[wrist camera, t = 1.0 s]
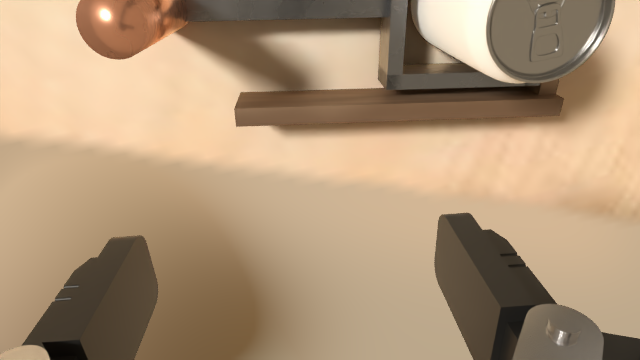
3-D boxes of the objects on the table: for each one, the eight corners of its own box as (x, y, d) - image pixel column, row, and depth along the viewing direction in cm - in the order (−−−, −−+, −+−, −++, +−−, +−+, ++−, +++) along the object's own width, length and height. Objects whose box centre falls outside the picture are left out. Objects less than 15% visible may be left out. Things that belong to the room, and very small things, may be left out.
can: (502, -65, 28) (635, -84, 17) (502, 37, 30) (617, 76, 20) (403, -42, 28) (473, -47, 17) (413, 56, 31) (479, 106, 20)
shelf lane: (218, -128, 25) (207, -143, 22) (579, -130, 26) (624, -144, 23) (242, 108, 32) (236, 126, 28) (530, 99, 33) (559, 115, 29)
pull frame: (128, -88, 25) (40, -117, 16) (550, -92, 27) (682, -121, 18) (160, 85, 30) (105, 136, 21) (518, 75, 31) (608, 119, 22)
